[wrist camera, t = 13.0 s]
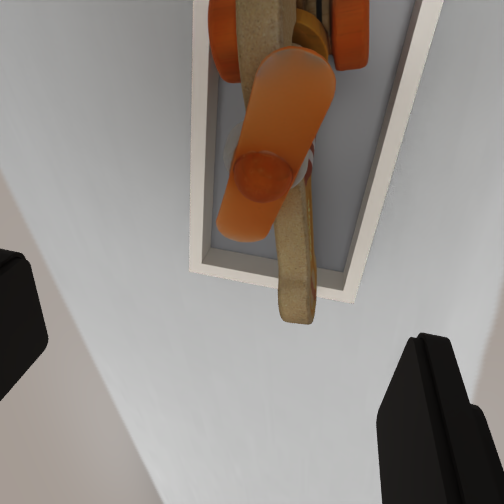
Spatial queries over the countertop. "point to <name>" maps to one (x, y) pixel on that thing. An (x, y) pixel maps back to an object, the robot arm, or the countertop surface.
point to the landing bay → (325, 154)
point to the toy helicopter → (281, 122)
